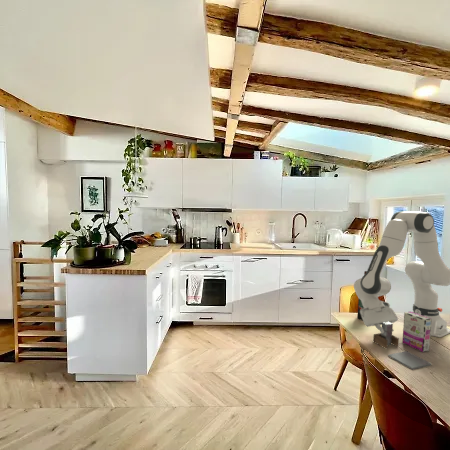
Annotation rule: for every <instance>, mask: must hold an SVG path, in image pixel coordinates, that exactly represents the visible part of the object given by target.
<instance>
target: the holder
mask: <svg viewBox="0 0 450 450" xmlns="http://www.w3.org/2000/svg"><path fill="white" fill-rule="evenodd" d="M399 340H400V338H399V337H397V336H395V335H394V334H392V342H391V343H392V344H391V345H393V344H394V346H395V347H398V346H399V342H400V341H399ZM373 341H374V342H373ZM372 342H373V343H375V342H376V343H378V344H379V346H380V345H381V346H380V347H382V346H383V347H382V348H384V347H385V348H384V349H388V345H387V343H388V340H386V339H384V338H382V337H381V332H379V333H374V334H373V339H372ZM376 343H375V344H376ZM378 344H377V345H378Z"/></svg>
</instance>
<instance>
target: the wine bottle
mask: <svg viewBox="0 0 450 450" xmlns="http://www.w3.org/2000/svg"><path fill="white" fill-rule="evenodd" d="M366 272H367V270H365V271H364V273H363V274H364V275H365V273H366ZM364 275H363V276H364ZM361 309H364V307H363V305H362V302H361V300H360V299H359V298H358V301H357V317H356V318H357V320H360V321H362V322H363V319H362V316H361V314H360V310H361Z"/></svg>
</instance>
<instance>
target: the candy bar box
mask: <svg viewBox="0 0 450 450" xmlns="http://www.w3.org/2000/svg"><path fill="white" fill-rule="evenodd" d="M431 320H432V319H431V318H428V317H425V316H422V315H419V314H416V313H413V311H405V312H404V314H403V327H402V328H403V329H402V341H401V343H402V344H404V345H405V346H409V347H411V348H413V349H415V350H417V351H419V352H422V353H427V352H430V344H431V336H430V333H431Z"/></svg>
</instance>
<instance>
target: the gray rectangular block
mask: <svg viewBox="0 0 450 450" xmlns="http://www.w3.org/2000/svg"><path fill="white" fill-rule="evenodd" d="M381 327H382V328H383V329H385V331H386V332H385V333H383V334H382V333H381V332H380V333H381V337H382V338H384V339H386V340H388V343H387V346H392V344H391V342H392V335H393V332H392V328H393V327H394V323H390V322H382V325H381Z"/></svg>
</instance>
